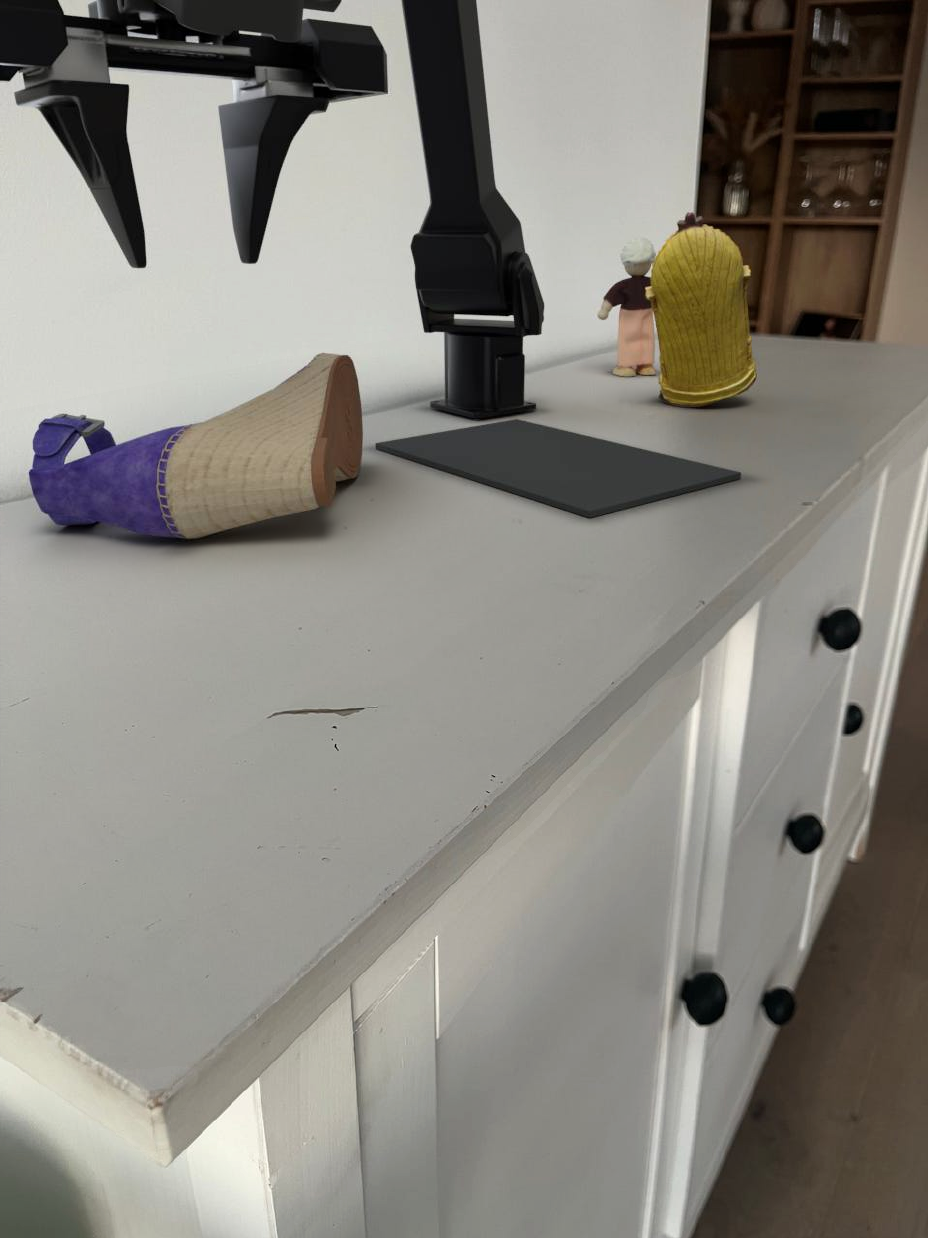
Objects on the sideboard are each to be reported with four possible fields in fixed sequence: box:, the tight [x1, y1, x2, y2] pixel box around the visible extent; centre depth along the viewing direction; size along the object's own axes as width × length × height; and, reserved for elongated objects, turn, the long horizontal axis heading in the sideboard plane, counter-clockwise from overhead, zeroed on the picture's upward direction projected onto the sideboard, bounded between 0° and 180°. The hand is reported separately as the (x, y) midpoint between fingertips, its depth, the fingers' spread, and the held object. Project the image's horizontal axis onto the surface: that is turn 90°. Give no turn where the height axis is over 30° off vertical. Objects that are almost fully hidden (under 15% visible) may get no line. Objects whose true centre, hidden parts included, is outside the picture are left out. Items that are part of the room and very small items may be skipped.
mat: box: [374, 418, 742, 519], centre depth 63 cm, size 21×13×1 cm, turn 38°
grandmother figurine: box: [597, 237, 657, 378], centre depth 94 cm, size 8×4×13 cm, turn 115°
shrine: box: [645, 211, 757, 408], centre depth 78 cm, size 12×8×15 cm
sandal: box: [28, 352, 364, 540], centre depth 55 cm, size 8×20×15 cm
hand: (195, 265), depth 45 cm, fingers open, 5 cm apart
